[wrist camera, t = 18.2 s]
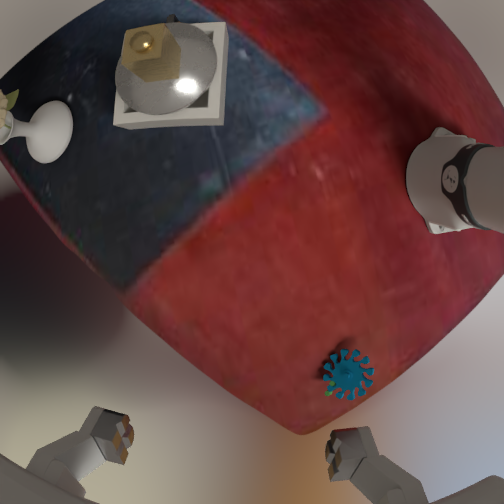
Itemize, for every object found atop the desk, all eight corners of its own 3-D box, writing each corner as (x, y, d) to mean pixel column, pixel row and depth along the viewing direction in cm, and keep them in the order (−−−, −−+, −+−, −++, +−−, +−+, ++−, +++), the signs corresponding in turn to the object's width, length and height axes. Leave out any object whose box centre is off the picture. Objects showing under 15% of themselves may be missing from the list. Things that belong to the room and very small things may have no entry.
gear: (350, 338, 48) (383, 380, 42) (360, 334, 52) (390, 372, 47) (307, 373, 52) (336, 413, 46) (321, 367, 56) (348, 404, 51)
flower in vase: (45, 175, 42) (-62, 192, 18) (27, 128, 39) (-72, 125, 15) (93, 131, 40) (-19, 117, 16) (72, 84, 37) (-27, 51, 13)
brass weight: (181, 48, 30) (162, 19, 21) (179, 78, 31) (158, 54, 23) (148, 53, 30) (123, 27, 21) (146, 82, 31) (118, 61, 23)
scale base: (228, 36, 36) (225, 19, 30) (223, 125, 40) (219, 118, 34) (138, 44, 36) (125, 31, 30) (129, 129, 40) (113, 124, 34)
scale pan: (224, 24, 33) (221, 7, 28) (218, 119, 38) (213, 111, 32) (137, 33, 33) (124, 20, 28) (126, 124, 38) (110, 119, 32)
